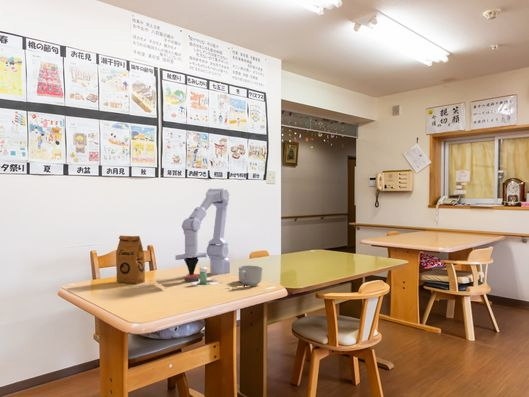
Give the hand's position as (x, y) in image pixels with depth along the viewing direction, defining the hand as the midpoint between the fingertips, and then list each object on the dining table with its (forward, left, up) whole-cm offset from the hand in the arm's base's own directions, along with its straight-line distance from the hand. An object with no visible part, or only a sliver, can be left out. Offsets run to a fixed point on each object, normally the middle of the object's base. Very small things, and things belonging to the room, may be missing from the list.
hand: (191, 274), depth 178 cm
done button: (0, 0, -2) cm, 2 cm away
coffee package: (+22, -20, -5) cm, 30 cm away
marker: (-2, +8, -3) cm, 9 cm away
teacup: (-20, +17, -5) cm, 27 cm away
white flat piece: (-4, +4, -4) cm, 7 cm away
